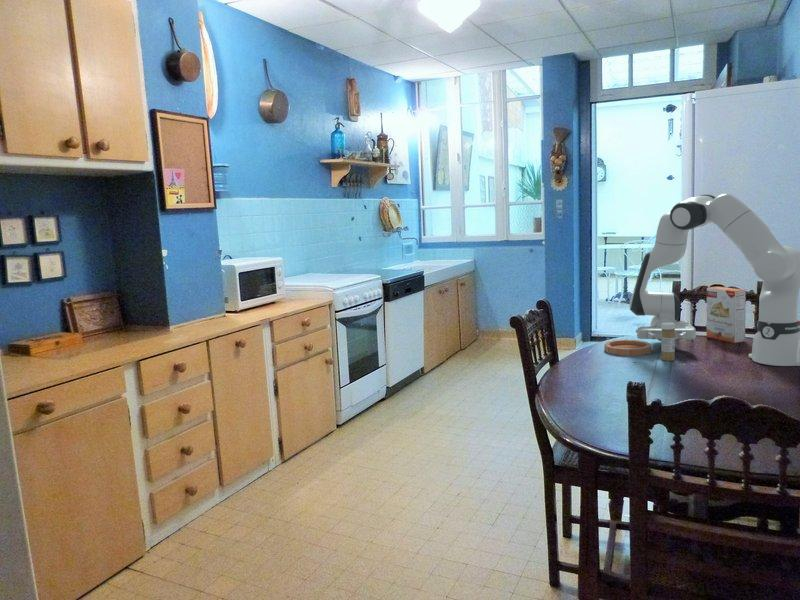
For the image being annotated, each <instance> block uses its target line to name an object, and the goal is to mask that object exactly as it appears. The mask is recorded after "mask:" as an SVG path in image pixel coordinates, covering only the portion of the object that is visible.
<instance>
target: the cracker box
mask: <svg viewBox="0 0 800 600" xmlns="http://www.w3.org/2000/svg"><path fill="white" fill-rule="evenodd" d="M746 292H747V290H746V289H740V288H731V287H724V286H711V287H706V338H708V339H709V338H710V339H713V340H718V341H722V342H727V343H731V344H740V343H744V342H746V312H747V311H746V308H747V306H746V305H747V304H746V301H747V300H746V298H747V296H746V295H747V294H746Z"/></svg>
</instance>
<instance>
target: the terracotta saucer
mask: <svg viewBox="0 0 800 600" xmlns="http://www.w3.org/2000/svg"><path fill="white" fill-rule="evenodd" d="M603 345H604V347H603V348H604V349H603V350H606V351H607V352H609V353H608V354H610V353H613V354H612V355H615V354H617V355H616V356H624V355H628V356H627V357H630V356H631V357H634V356H644V355H647V354H651V352H652V343H650V342H647V341H644V340H638V339H615V340H610V341H606V342H605V343H604V344H603ZM606 351H605V352H606ZM607 352H606V353H607Z"/></svg>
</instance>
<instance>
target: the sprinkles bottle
mask: <svg viewBox="0 0 800 600" xmlns="http://www.w3.org/2000/svg"><path fill="white" fill-rule="evenodd" d="M661 330H662V341H661V342H660V343H661V358H660V359H661V360H662V361H666V362H672V361H675V360H676V357H675V355H676V354H675V353H676V352H675V351H676V348H675V347H676V340H675V331H674V330H675V323H671V322H665V323H661Z"/></svg>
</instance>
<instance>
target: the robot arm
mask: <svg viewBox="0 0 800 600" xmlns="http://www.w3.org/2000/svg"><path fill="white" fill-rule="evenodd" d="M710 223H711V224H712V223H713V224H714V225H715V226H716V227H718V228H719V230H721V232H722V233H724V235H725V236H727V238H728V239H729V240H730V241H731V242H732V243H733V244H734V245H735V246H736V247H737V248H738V250H740V252H741V253H742V254H743V256H744V258H745V260H747V262H748V264H749V265H750V266H751V268H753V270H754V273H755V275H756V276H757V277H758V278H759V279H760V280H763V281H762V285H761V290H760V294H759V298H758V301H759V303H758V304H759V305H758V320H757V322H756V330H757V332H756V333H755V334H754V335H753V338H752V348H751V349H752V350H751V352H750V353H748V358H749V359H752V361H753V362H756V363H758V364H762V365H768V366H774V367H775V366H776V367H777V366H778V367H800V320H799V319H798V309H799V307H798V306H799V304H798V303H799V293H800V250H798V249H796V248H794V247H792V246H788V245H782V244H781V243H780V242H779V241H778V240H777V238H776V237H775V236H774V234H773V232H772V231H771V229H770V227H769V226H768V225H767V224H766V223H765V222H764V221H763V220H762V219H761V218H760V217H759V216H758V215H757V214H756V213H754V211H753V210H752V209H751V208H750V207H749V206H748V205H747V204H746V203H744V202H743V201H741V200H740V199H738V198H737V197H735V195H733V194H731V193H722V194H719V195H717V196H715V195H713V194H700V195H697V196H691V197H688V198H686V199H684V200H681V201H679V202H678V203H676V204H675V205H673V207H672V208H671V210H670V212H667V213H664V214H662V215H661V217H660V218H659V222H658V225H657V229H656V235H655V243H654V246H653V247H652V248H651V250H650V251H649V252H647V253H645V255H644V257H643V259H642V261H641V262H642V263H641V265H640V268H639V272H638V275H637V279H636V282H635V285H634V288H633V291H632V294H631V296H630V299H629V305H628V307H629V310H630V311H631V313H633V314H634V315H636V316H638V317H639V316H640V317H641V316H642V317H643V316H644V317H645V316H652V318H651V320H650V326H645V325H644V326H639V327H637V328H636V329H635V333H636V338H637V339H640V340H650V339H651V340H656V341H657V340H658V341H659V342H662V330H661V323H665V322H671V323H675V330H674V331H675V341H676V340H695V339H696V338H697V332H696V331H697V329H696V327H694V326H693V325H692V324H690V322H689V321H685V320H678V319H679V318H680V314H681V301H680V298H679V297H678V295H677V294H676V293H675V292H670V291H669V292H666V291H648V290H646V289H647V285H648V282H649V279H650V276H651V274H652V273H653V272H654V271H656V270H658V269H660V268H663V267H664V268H665V267H666V266H670V265H674V264H675V263H678V262H680V260H681V259H682V258H683V257H684V256H685V254H686V250H687V244H688V238H689V237H688V235H689V232H690V230H692V229H696V228H700V227H704V226H706V225H708V224H710Z"/></svg>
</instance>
